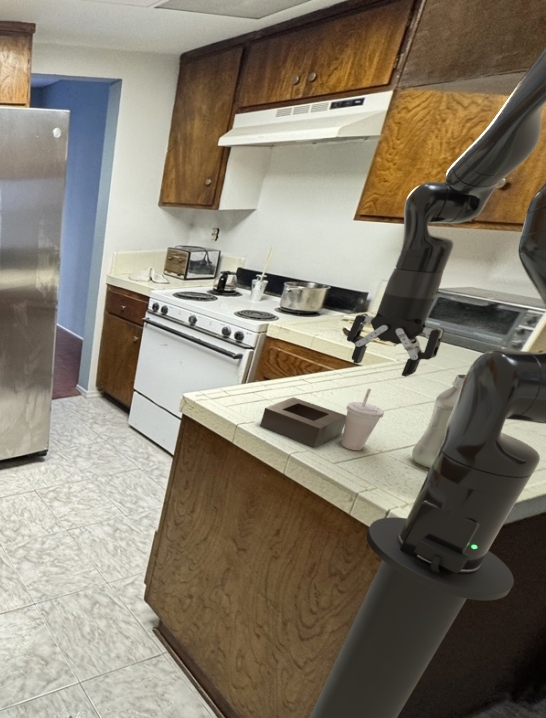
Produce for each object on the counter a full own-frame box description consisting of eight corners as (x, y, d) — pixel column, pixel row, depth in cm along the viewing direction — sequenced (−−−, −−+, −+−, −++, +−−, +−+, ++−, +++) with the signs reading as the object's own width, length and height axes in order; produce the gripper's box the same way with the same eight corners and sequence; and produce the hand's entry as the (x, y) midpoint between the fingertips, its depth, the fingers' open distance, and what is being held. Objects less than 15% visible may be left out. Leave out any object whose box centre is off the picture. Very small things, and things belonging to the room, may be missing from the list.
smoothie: (336, 436, 110) (356, 381, 105) (371, 445, 106) (393, 389, 101) (331, 446, 106) (351, 390, 101) (367, 456, 102) (390, 398, 96)
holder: (313, 447, 106) (320, 428, 104) (259, 425, 116) (264, 407, 114) (341, 434, 111) (348, 415, 109) (287, 414, 121) (293, 397, 119)
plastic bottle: (445, 461, 100) (486, 375, 92) (453, 477, 95) (498, 387, 86) (405, 453, 103) (442, 369, 95) (411, 468, 98) (451, 380, 90)
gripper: (358, 288, 96) (333, 362, 103) (449, 302, 85) (414, 384, 91) (375, 284, 99) (350, 356, 106) (466, 297, 88) (431, 376, 95)
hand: (380, 368), depth 99 cm, fingers open, 8 cm apart
